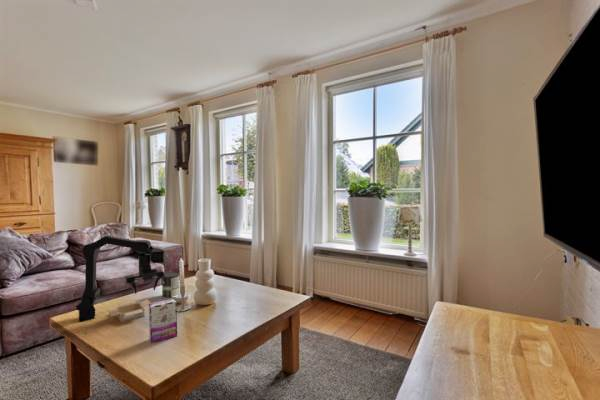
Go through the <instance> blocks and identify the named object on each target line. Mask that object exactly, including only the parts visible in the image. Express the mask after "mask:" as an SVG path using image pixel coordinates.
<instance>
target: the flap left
mask: <svg viewBox="0 0 600 400" xmlns="http://www.w3.org/2000/svg"><path fill="white" fill-rule="evenodd" d="M117 303H118V306H119V307H121V306H126V305H130V304H135V303H137V301H136V299H135V298H133V299H132V298H131V299H127V300H124V301H119V302H117Z"/></svg>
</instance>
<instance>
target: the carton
mask: <svg viewBox="0 0 600 400" xmlns="http://www.w3.org/2000/svg"><path fill="white" fill-rule="evenodd" d="M107 312H108V315H109V316H110V317H113V316H116V317H117V319H118V320H119V322H120V323H124V322H128V321H132V320H135V319H136V320H137V319H140V318H144V317H145V307H144V306H143V305H142V304H141V303H140V302H136V303H133V304H128V305H124V306H119V307H116V308H114V309H108V310H107Z"/></svg>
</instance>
